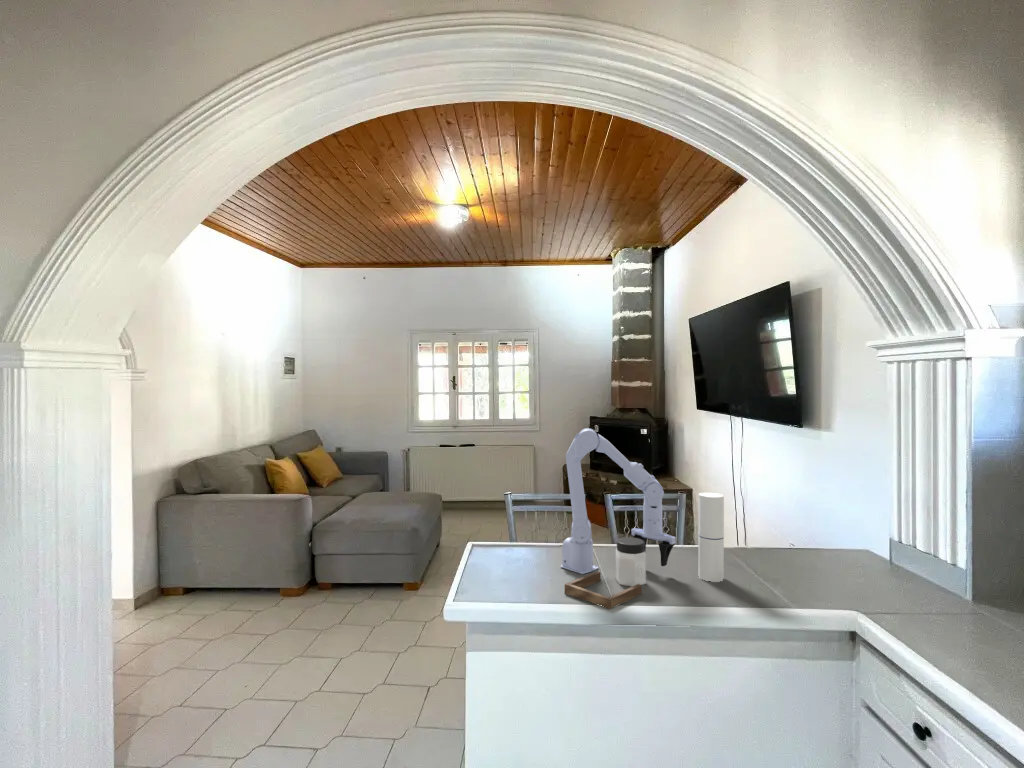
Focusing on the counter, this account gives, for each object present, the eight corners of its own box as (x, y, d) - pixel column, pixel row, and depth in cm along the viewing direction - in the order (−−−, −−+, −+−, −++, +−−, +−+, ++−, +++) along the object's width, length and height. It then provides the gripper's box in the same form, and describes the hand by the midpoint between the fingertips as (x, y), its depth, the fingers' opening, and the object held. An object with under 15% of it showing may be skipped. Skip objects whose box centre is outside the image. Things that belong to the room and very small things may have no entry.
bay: (564, 592, 155) (564, 583, 155) (597, 579, 165) (597, 571, 165) (609, 609, 143) (609, 599, 143) (641, 594, 154) (641, 585, 154)
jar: (629, 589, 157) (629, 547, 157) (609, 580, 164) (609, 540, 164) (651, 582, 162) (651, 541, 162) (631, 574, 169) (631, 535, 169)
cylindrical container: (697, 580, 164) (697, 496, 164) (699, 572, 171) (699, 491, 171) (723, 583, 161) (723, 498, 161) (723, 575, 168) (724, 493, 168)
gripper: (680, 520, 169) (680, 565, 169) (640, 512, 179) (640, 554, 179) (668, 524, 164) (668, 570, 164) (627, 516, 175) (627, 559, 175)
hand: (653, 562), depth 171 cm, fingers open, 7 cm apart
